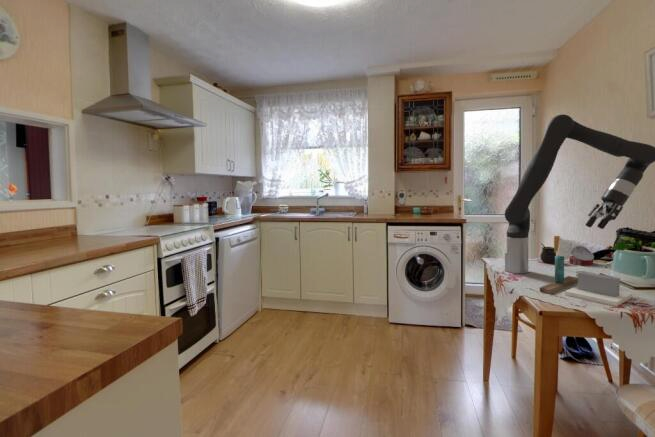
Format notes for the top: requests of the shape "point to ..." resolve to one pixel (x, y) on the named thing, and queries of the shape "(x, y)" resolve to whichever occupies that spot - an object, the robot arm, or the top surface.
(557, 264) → the teal peg on base
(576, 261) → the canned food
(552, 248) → the mate gourd
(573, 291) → the ridge stand
